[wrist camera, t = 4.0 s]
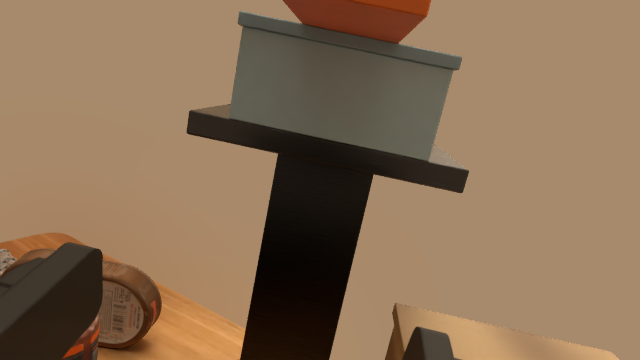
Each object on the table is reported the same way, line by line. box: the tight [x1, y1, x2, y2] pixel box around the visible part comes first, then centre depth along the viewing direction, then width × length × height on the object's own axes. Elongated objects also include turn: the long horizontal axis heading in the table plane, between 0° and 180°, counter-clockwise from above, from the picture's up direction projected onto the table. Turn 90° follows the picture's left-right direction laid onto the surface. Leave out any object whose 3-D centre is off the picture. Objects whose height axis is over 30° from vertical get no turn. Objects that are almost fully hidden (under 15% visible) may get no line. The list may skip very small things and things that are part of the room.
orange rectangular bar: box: [283, 0, 431, 43], centre depth 21 cm, size 4×19×4 cm, turn 175°
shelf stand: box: [187, 104, 469, 360], centre depth 30 cm, size 14×13×27 cm
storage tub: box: [229, 11, 462, 161], centre depth 26 cm, size 10×12×5 cm
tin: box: [0, 248, 162, 348], centre depth 42 cm, size 15×3×8 cm, turn 89°
